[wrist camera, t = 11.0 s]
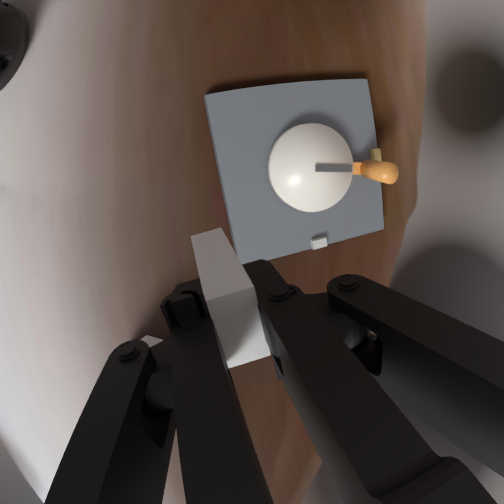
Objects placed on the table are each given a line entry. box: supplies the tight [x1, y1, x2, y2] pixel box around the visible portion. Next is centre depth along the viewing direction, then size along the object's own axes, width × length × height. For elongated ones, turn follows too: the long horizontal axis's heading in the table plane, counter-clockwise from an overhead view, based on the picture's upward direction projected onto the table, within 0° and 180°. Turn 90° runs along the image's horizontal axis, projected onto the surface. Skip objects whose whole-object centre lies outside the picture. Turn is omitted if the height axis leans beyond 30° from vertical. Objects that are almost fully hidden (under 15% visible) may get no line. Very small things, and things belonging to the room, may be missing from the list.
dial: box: [267, 123, 399, 212], centre depth 37 cm, size 15×11×6 cm
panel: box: [204, 79, 384, 264], centre depth 41 cm, size 22×22×3 cm
